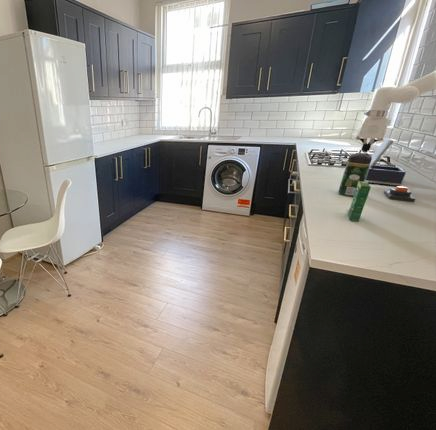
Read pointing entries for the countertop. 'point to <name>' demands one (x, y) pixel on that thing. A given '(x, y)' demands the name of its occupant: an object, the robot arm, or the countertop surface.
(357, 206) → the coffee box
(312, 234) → the countertop surface
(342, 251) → the countertop surface
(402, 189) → the button
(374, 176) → the chest
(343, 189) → the coffee jar
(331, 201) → the countertop surface
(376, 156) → the lid
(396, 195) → the control block
